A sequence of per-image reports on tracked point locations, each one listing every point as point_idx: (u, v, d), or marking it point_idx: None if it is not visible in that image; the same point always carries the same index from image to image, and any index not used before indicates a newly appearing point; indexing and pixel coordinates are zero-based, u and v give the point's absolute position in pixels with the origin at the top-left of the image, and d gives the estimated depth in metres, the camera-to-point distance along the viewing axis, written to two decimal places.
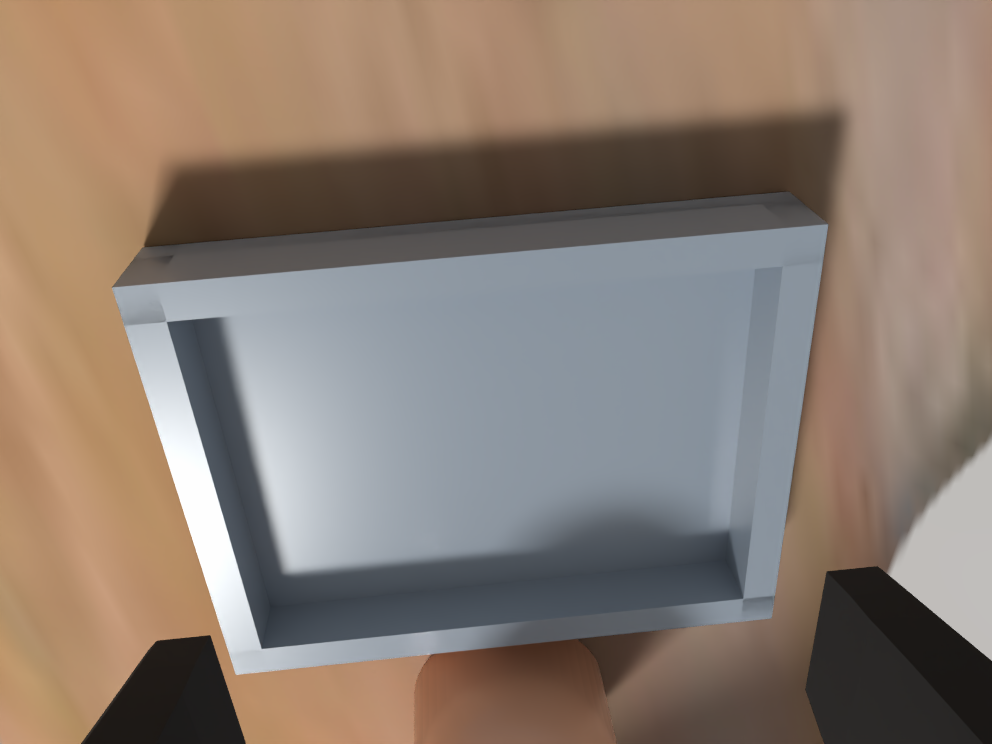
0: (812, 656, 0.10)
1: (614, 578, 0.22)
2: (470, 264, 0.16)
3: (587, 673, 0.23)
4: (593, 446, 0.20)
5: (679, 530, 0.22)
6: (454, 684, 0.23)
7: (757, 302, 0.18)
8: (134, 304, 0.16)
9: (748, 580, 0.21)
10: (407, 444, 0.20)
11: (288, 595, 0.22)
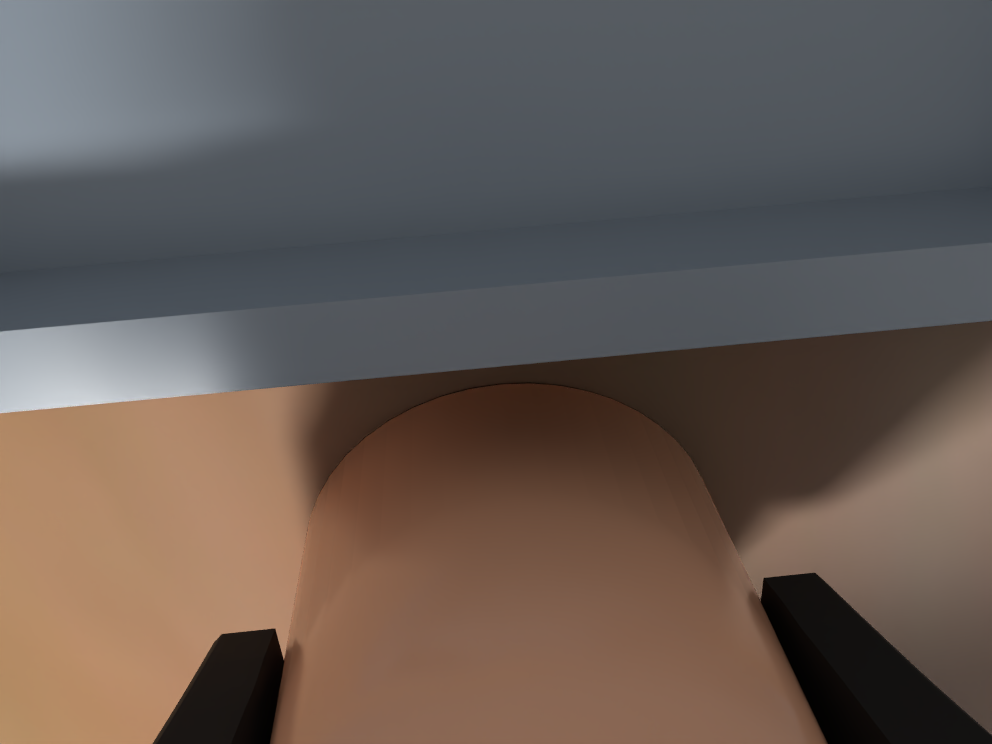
0: None
1: (787, 213, 0.08)
2: None
3: (699, 492, 0.10)
4: None
5: (967, 70, 0.08)
6: (377, 503, 0.09)
7: None
8: None
9: None
10: None
11: None
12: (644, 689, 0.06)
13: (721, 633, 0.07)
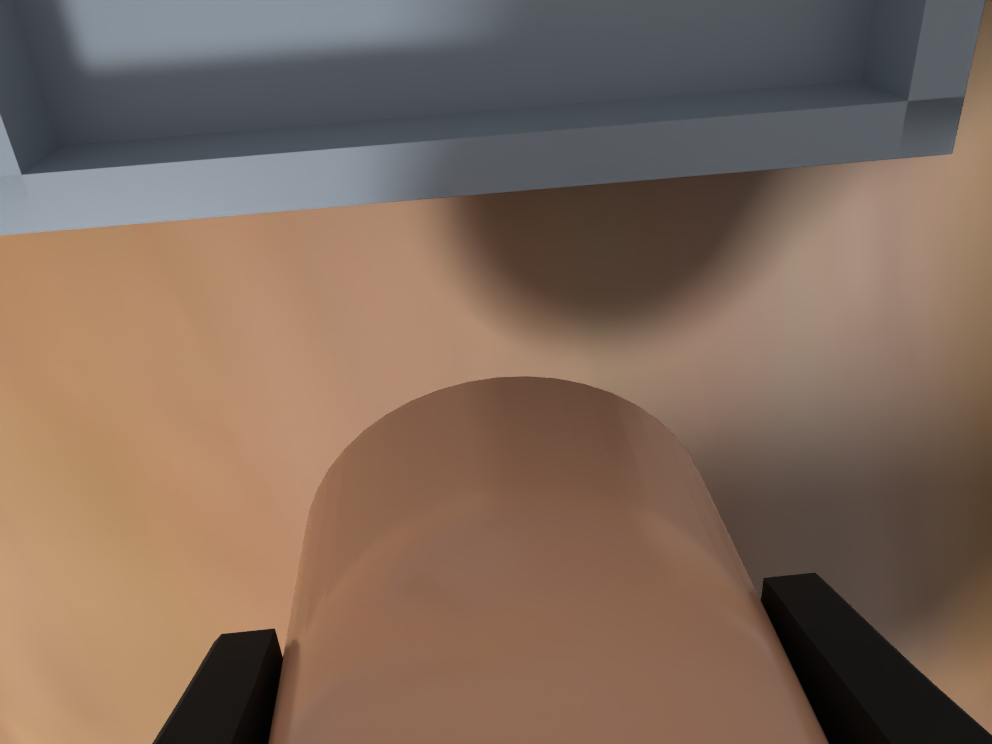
0: None
1: (668, 100, 0.12)
2: None
3: (695, 485, 0.10)
4: None
5: (786, 2, 0.12)
6: (376, 495, 0.09)
7: None
8: None
9: (921, 52, 0.11)
10: None
11: (89, 119, 0.12)
12: (640, 673, 0.06)
13: (717, 620, 0.07)
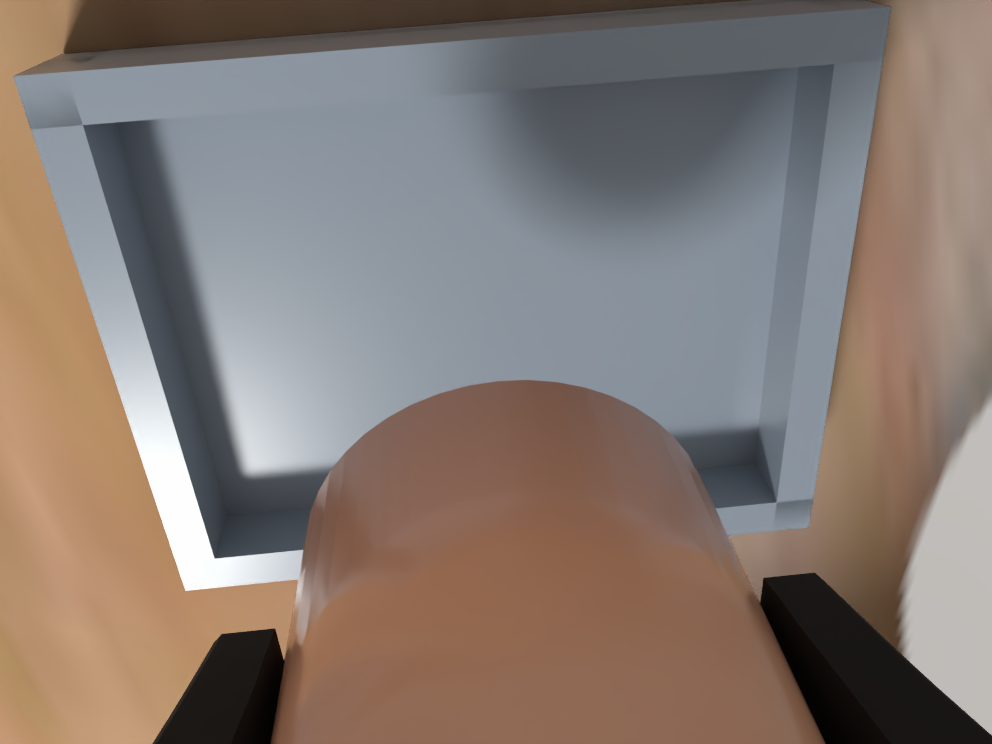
0: None
1: None
2: (454, 53, 0.13)
3: (696, 488, 0.10)
4: (602, 317, 0.17)
5: (701, 426, 0.19)
6: (377, 499, 0.09)
7: (799, 128, 0.15)
8: (42, 100, 0.13)
9: (782, 478, 0.18)
10: (383, 310, 0.17)
11: (248, 501, 0.19)
12: (640, 681, 0.07)
13: (718, 627, 0.07)
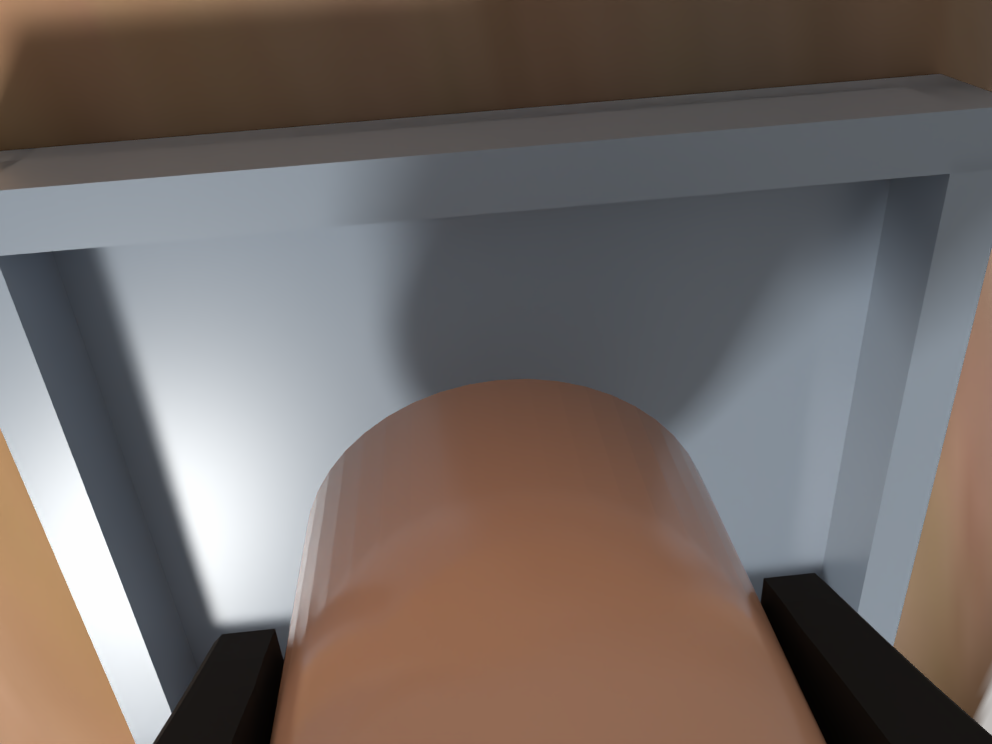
0: None
1: None
2: (469, 165, 0.10)
3: (696, 488, 0.10)
4: None
5: (756, 565, 0.16)
6: (377, 498, 0.09)
7: (891, 238, 0.12)
8: None
9: None
10: None
11: None
12: (641, 680, 0.06)
13: (717, 625, 0.07)
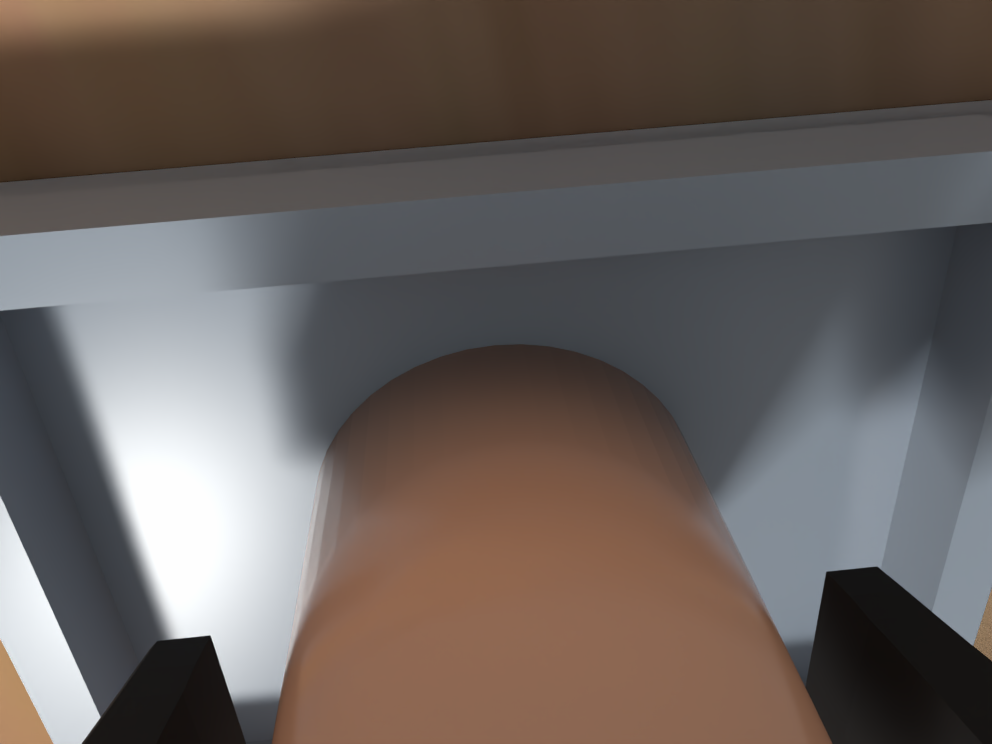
0: (812, 656, 0.10)
1: None
2: (478, 211, 0.09)
3: (679, 442, 0.11)
4: None
5: (792, 636, 0.14)
6: (383, 449, 0.10)
7: (959, 286, 0.11)
8: None
9: None
10: None
11: None
12: (621, 591, 0.07)
13: (693, 552, 0.08)
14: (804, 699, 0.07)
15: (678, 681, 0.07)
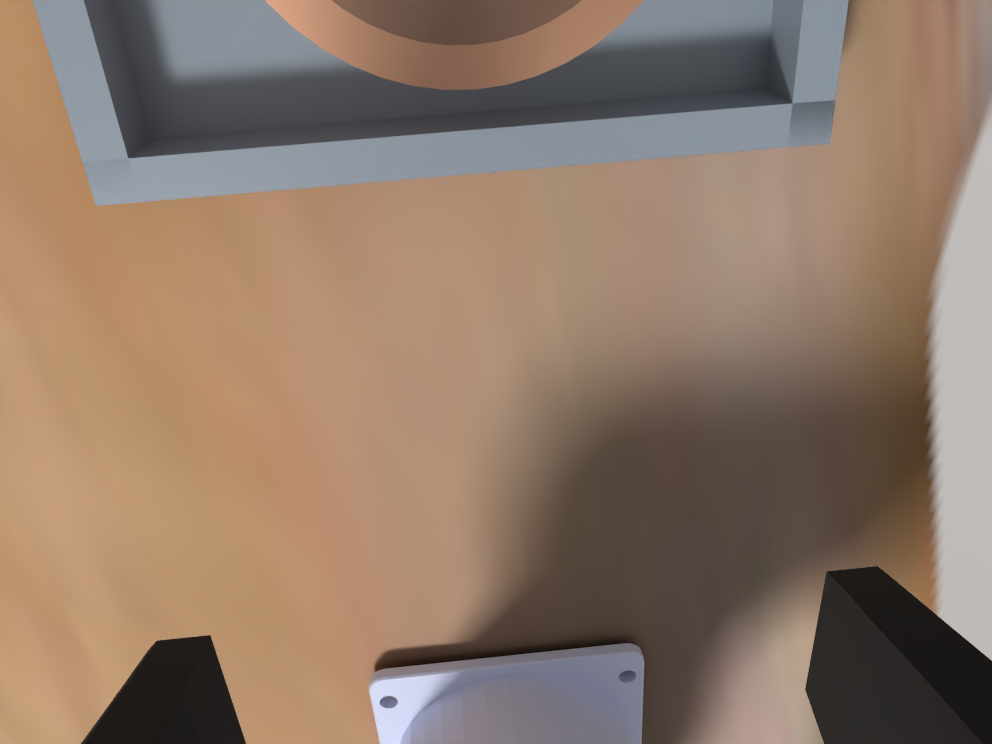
0: (812, 656, 0.10)
1: (615, 103, 0.16)
2: None
3: None
4: None
5: (703, 28, 0.16)
6: None
7: None
8: None
9: (799, 67, 0.15)
10: None
11: (173, 118, 0.16)
12: None
13: None
14: None
15: None
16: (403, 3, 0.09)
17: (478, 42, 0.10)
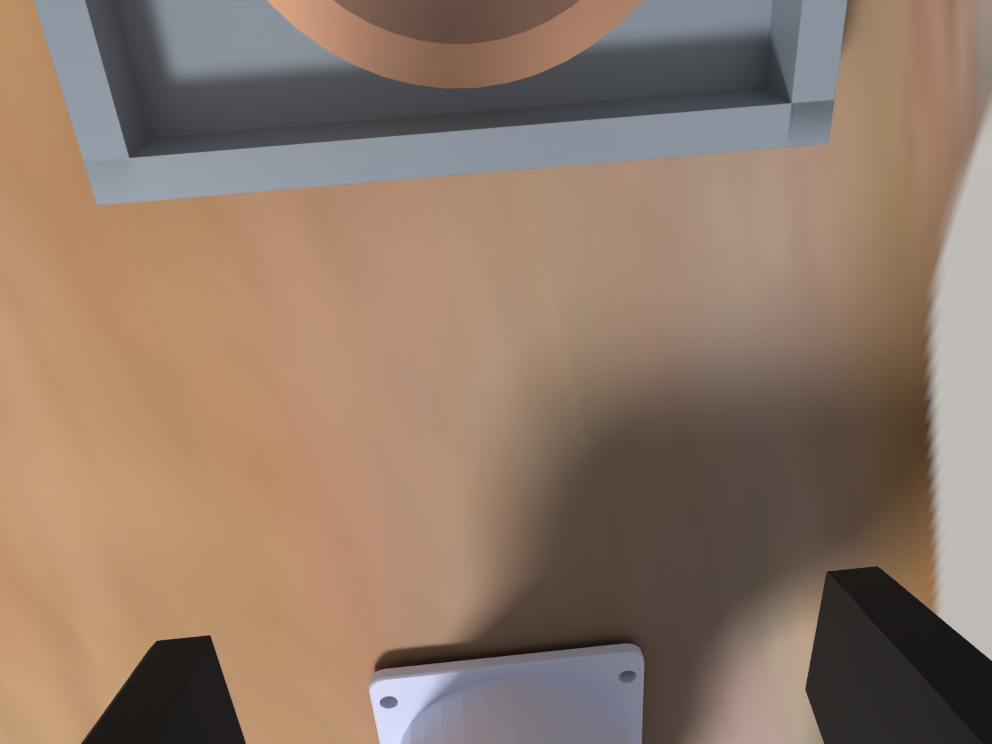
0: (812, 656, 0.10)
1: (615, 103, 0.16)
2: None
3: None
4: None
5: (703, 28, 0.16)
6: None
7: None
8: None
9: (798, 67, 0.15)
10: None
11: (174, 118, 0.16)
12: None
13: None
14: None
15: None
16: (403, 2, 0.09)
17: (477, 42, 0.10)
